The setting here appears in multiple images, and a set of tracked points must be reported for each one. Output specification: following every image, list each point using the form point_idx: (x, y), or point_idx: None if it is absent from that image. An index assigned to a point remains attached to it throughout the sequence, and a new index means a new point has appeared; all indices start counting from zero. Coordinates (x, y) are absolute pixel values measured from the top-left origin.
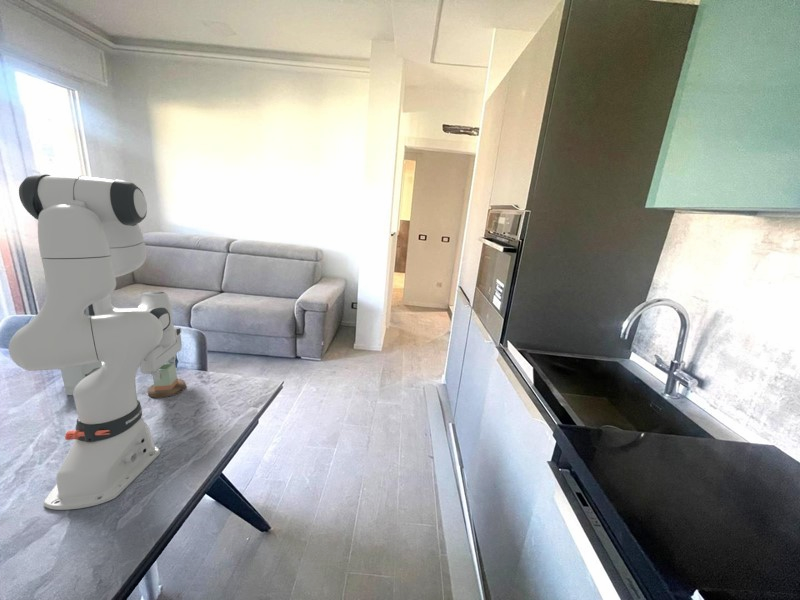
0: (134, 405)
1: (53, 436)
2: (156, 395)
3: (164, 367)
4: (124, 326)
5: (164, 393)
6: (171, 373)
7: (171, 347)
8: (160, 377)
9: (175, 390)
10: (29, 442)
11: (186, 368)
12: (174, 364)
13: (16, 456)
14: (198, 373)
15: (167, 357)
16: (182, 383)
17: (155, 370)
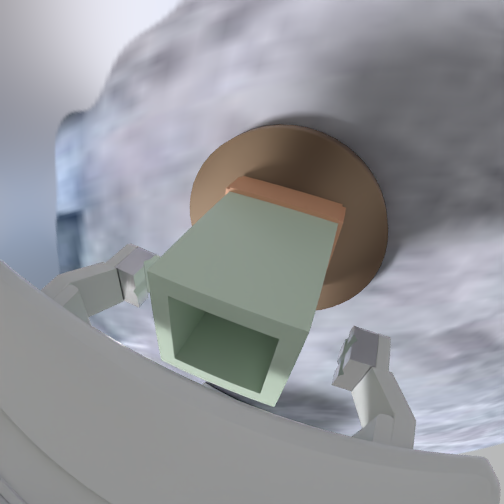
0: None
1: (445, 433)
2: (373, 273)
3: (188, 319)
4: None
5: (376, 239)
6: (276, 260)
7: (18, 426)
8: (372, 342)
9: (361, 180)
10: (437, 447)
11: (83, 170)
12: (167, 270)
13: (473, 446)
14: (124, 93)
15: (181, 436)
16: (263, 146)
17: (477, 471)
